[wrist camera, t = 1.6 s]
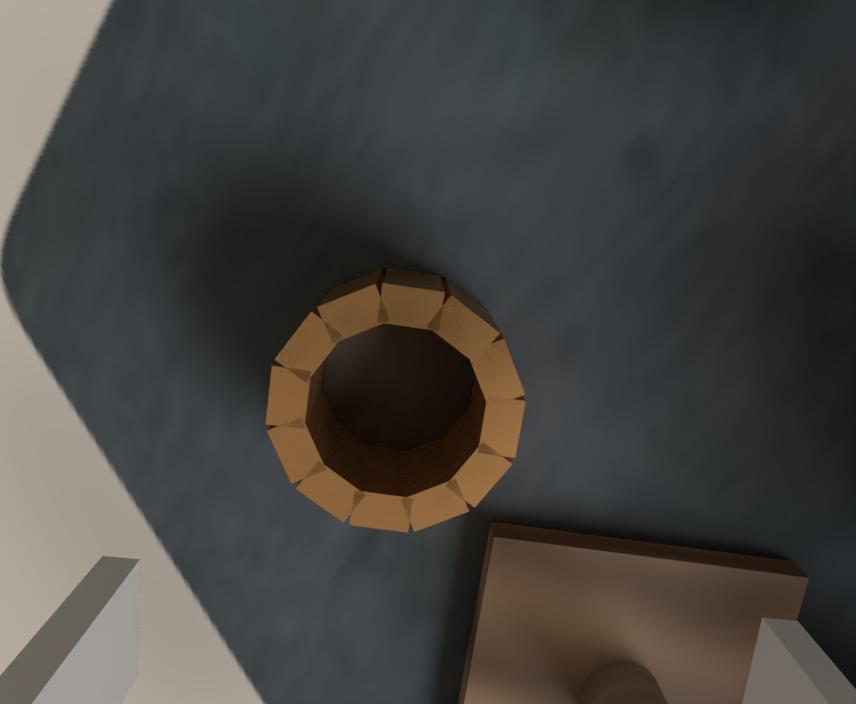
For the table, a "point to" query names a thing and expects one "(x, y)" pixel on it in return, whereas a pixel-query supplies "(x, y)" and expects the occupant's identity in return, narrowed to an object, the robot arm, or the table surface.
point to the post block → (618, 620)
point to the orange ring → (386, 467)
